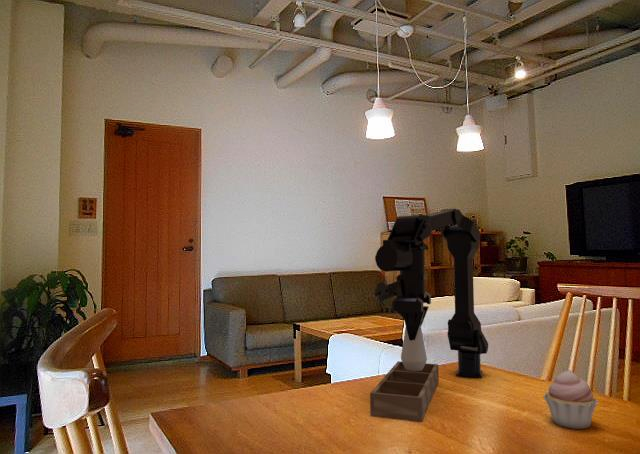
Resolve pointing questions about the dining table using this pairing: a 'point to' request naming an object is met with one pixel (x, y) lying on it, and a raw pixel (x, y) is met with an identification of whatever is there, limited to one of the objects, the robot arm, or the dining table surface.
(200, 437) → the dining table surface
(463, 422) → the dining table surface
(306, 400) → the dining table surface
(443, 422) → the dining table surface
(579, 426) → the cupcake
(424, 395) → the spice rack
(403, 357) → the salt shaker
